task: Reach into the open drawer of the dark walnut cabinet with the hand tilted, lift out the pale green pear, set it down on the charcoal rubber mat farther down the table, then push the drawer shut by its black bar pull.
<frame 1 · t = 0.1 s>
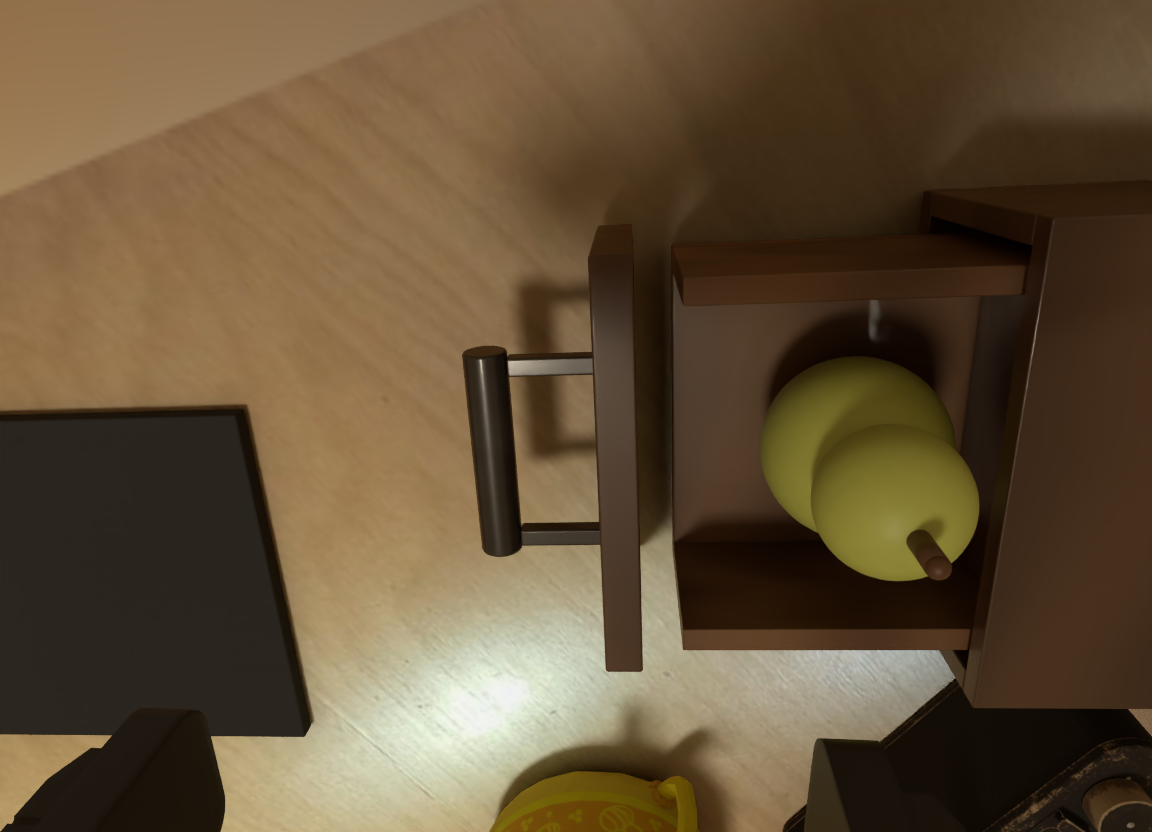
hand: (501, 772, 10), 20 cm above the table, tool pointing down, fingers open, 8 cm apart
mug: (611, 821, 38), on the table
cabinet: (1105, 386, 28), on the table
pear: (828, 412, 27), point 2 cm above the table, touching drawer
mat: (65, 581, 34), on the table
drawer: (741, 438, 25), point 4 cm above the table, slide at 10.0 cm, touching pear
camera: (936, 761, 35), on the table
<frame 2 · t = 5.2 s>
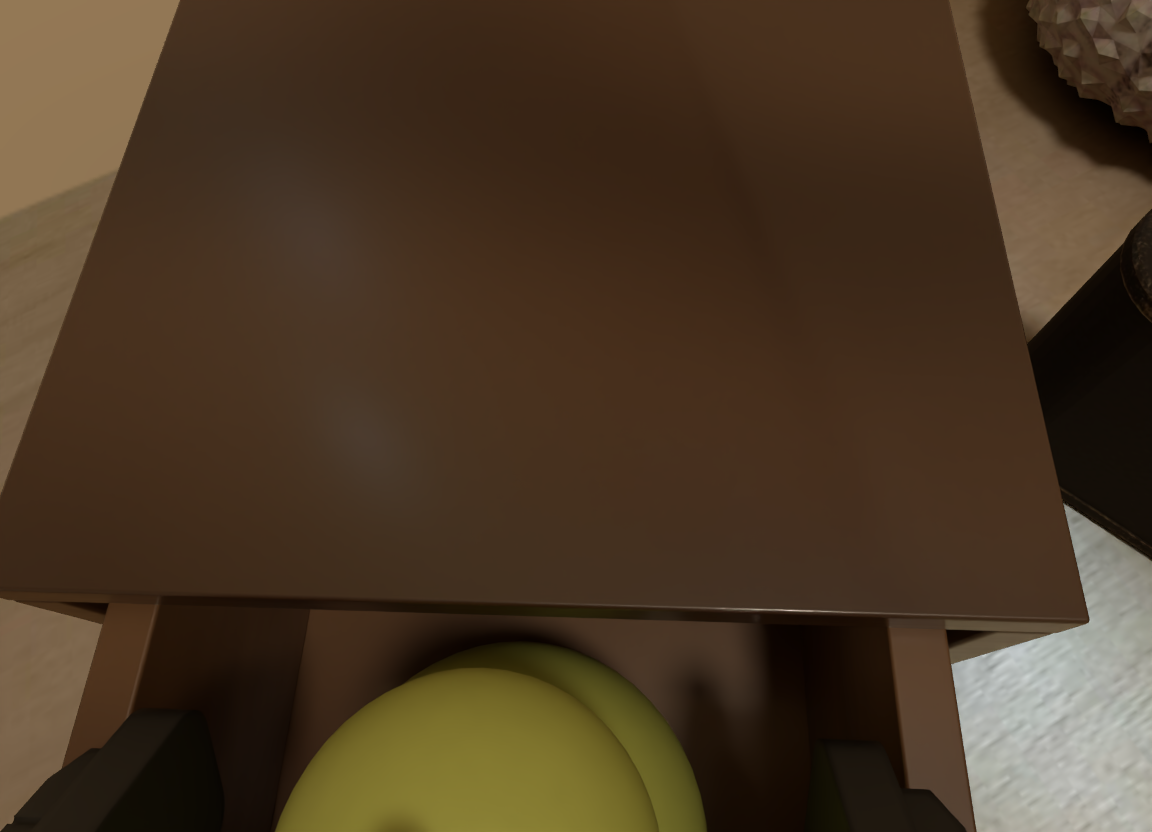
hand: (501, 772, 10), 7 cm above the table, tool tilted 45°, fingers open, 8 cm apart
cabinet: (569, 389, 21), on the table
pear: (538, 823, 15), point 2 cm above the table, touching drawer
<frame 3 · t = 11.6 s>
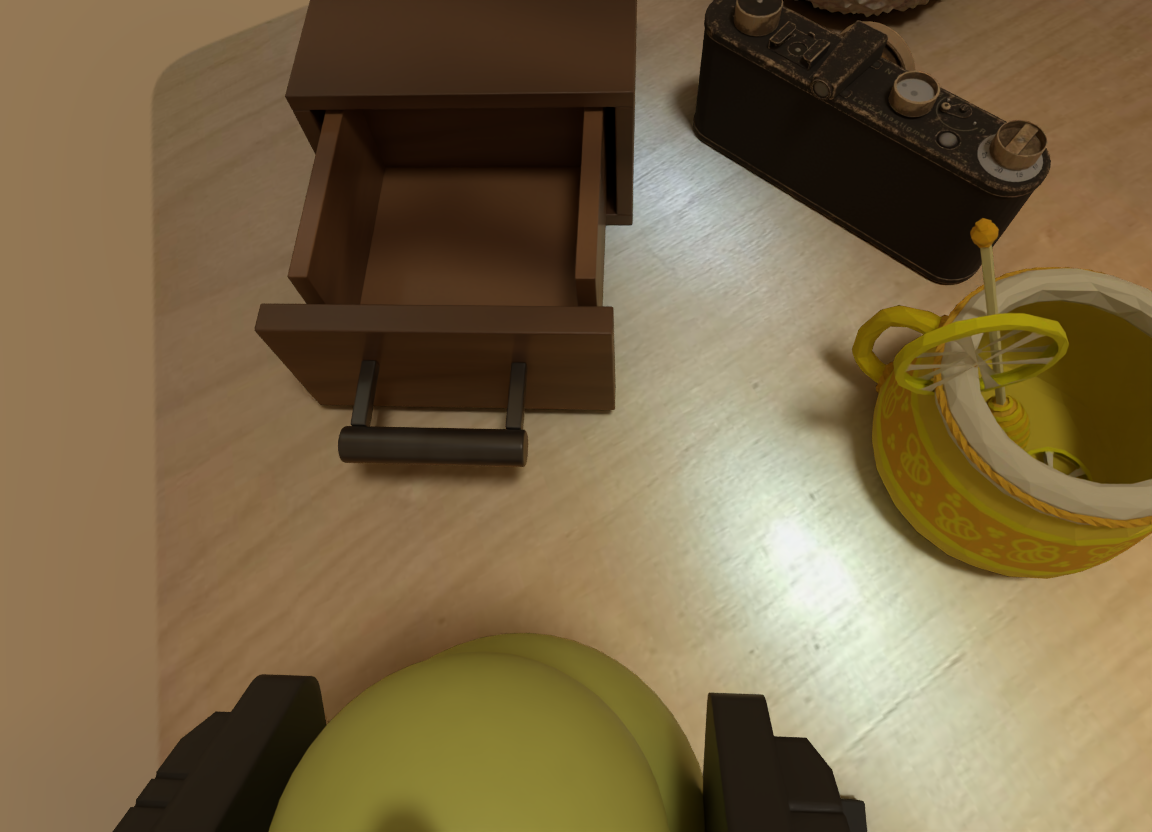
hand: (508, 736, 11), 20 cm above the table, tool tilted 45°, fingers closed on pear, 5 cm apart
mug: (966, 448, 33), on the table
cabinet: (502, 116, 42), on the table
pear: (540, 822, 14), point 16 cm above the table, touching gripper
drawer: (461, 277, 33), point 4 cm above the table, slide at 9.5 cm
camera: (841, 175, 40), on the table
when the fingers open (6 cm above the table, at t = 17.3 s): pear stays where it is, resting on mat.
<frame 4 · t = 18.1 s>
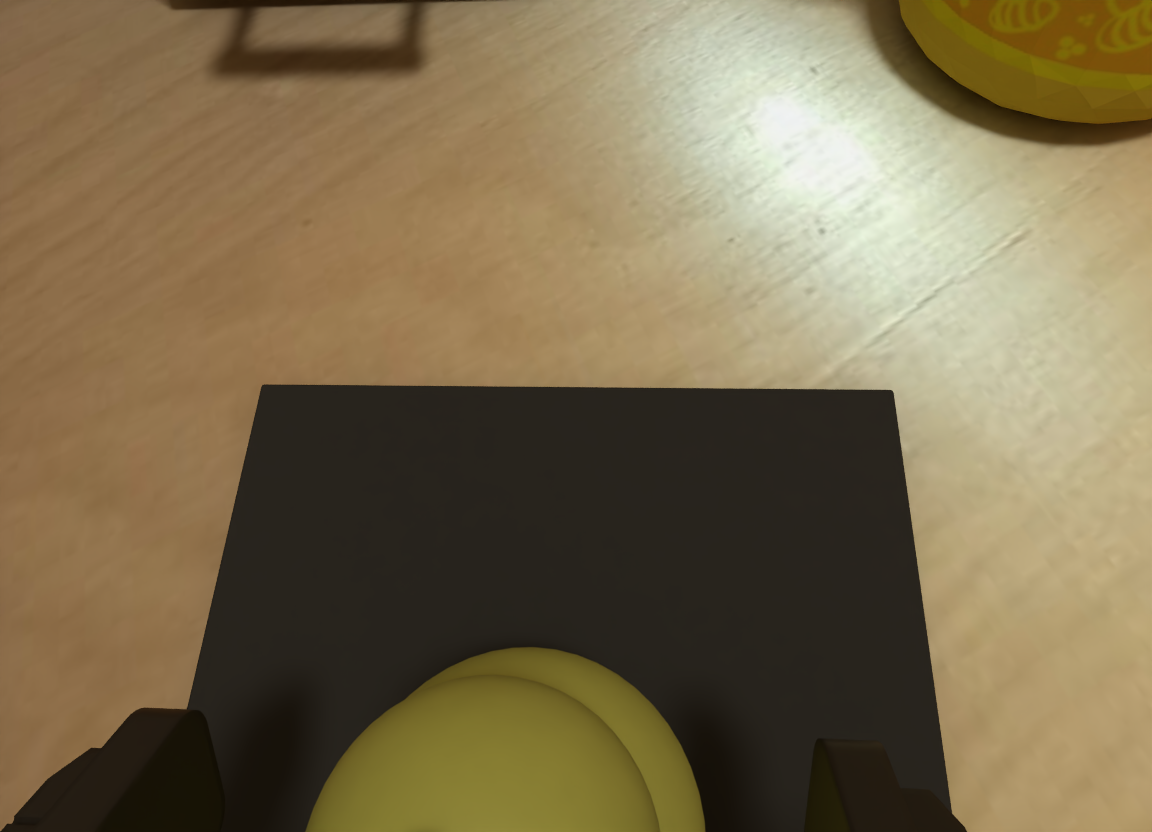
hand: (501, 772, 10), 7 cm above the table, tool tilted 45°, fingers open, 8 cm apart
mug: (1021, 14, 25), on the table
pear: (545, 819, 15), point 1 cm above the table, touching mat
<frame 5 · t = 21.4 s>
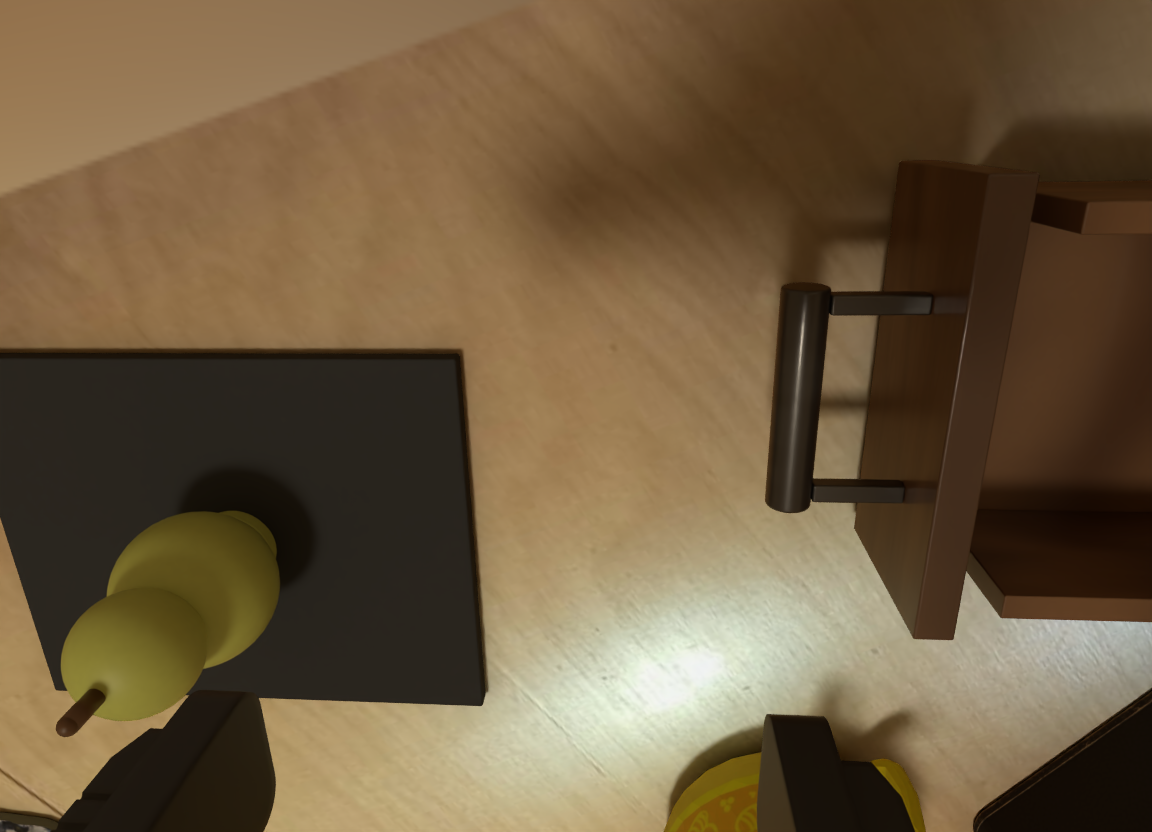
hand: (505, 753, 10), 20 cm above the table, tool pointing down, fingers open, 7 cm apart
mug: (790, 805, 36), on the table
pear: (239, 544, 32), point 1 cm above the table, touching mat
mat: (241, 534, 33), on the table
drawer: (1061, 393, 24), point 4 cm above the table, slide at 9.5 cm
camera: (1149, 752, 33), on the table
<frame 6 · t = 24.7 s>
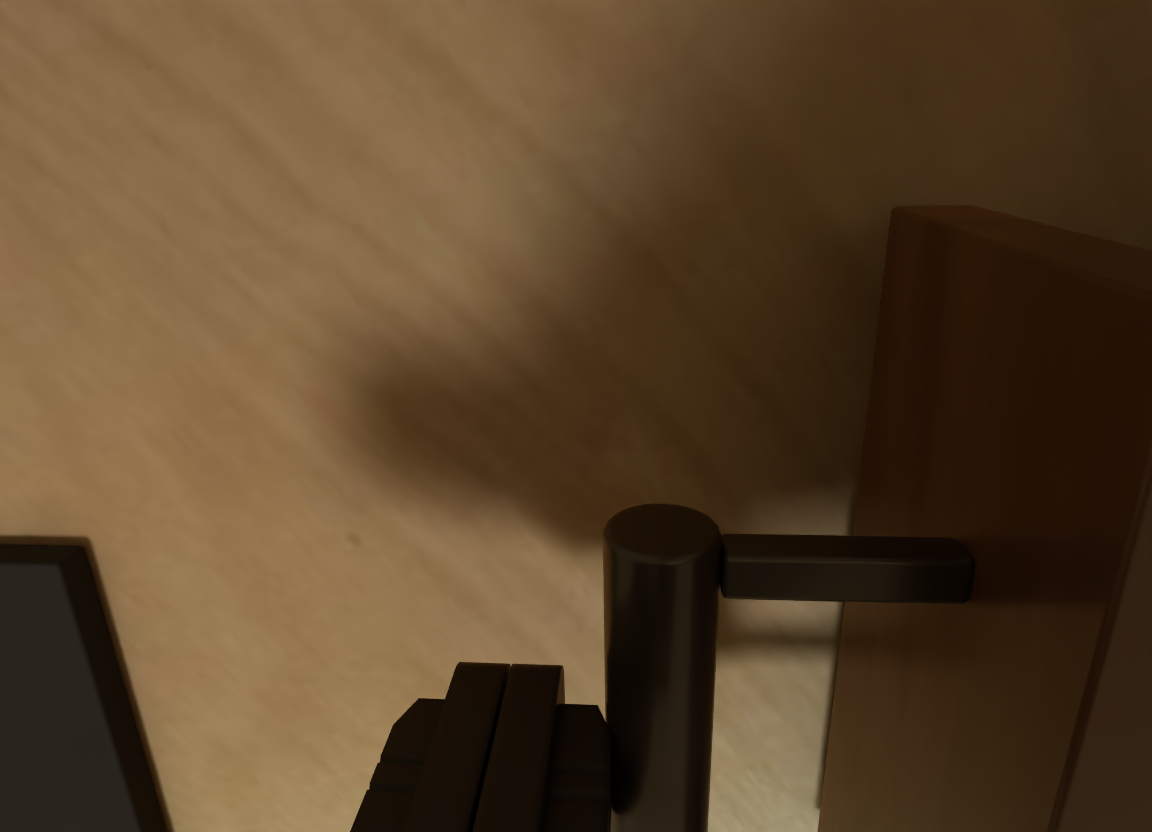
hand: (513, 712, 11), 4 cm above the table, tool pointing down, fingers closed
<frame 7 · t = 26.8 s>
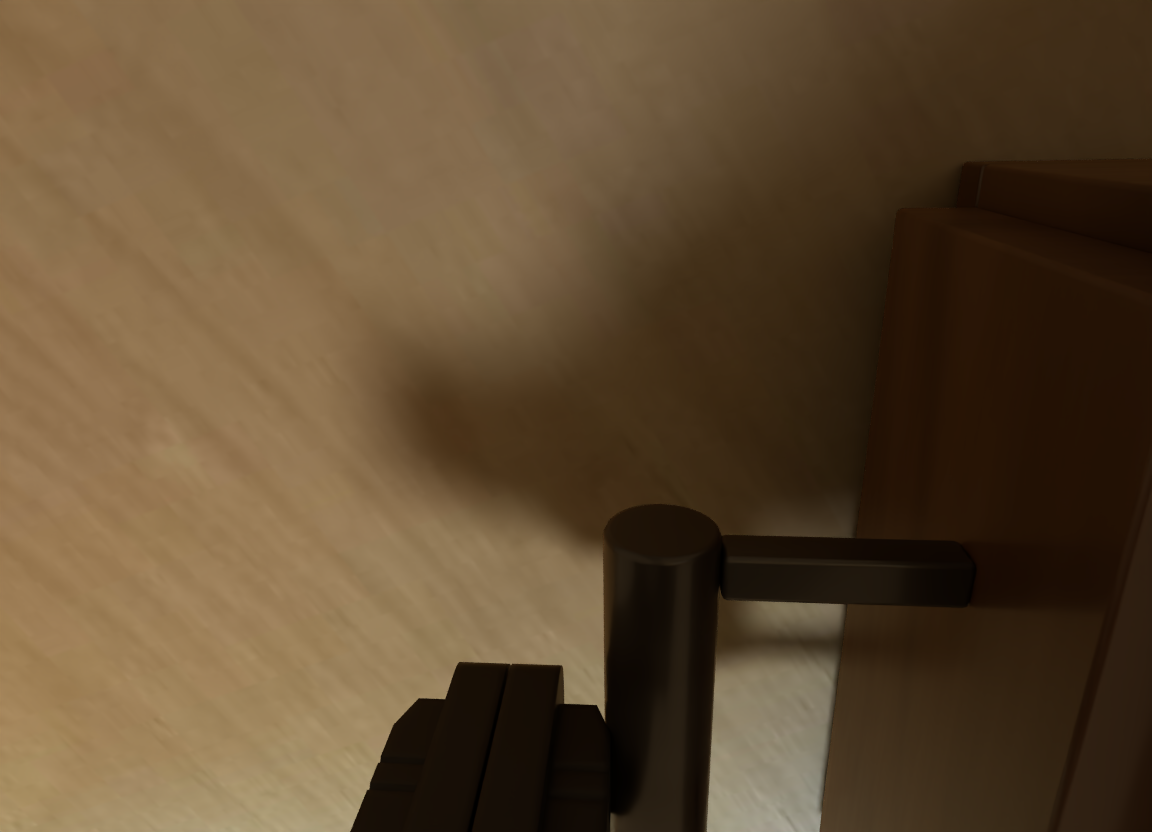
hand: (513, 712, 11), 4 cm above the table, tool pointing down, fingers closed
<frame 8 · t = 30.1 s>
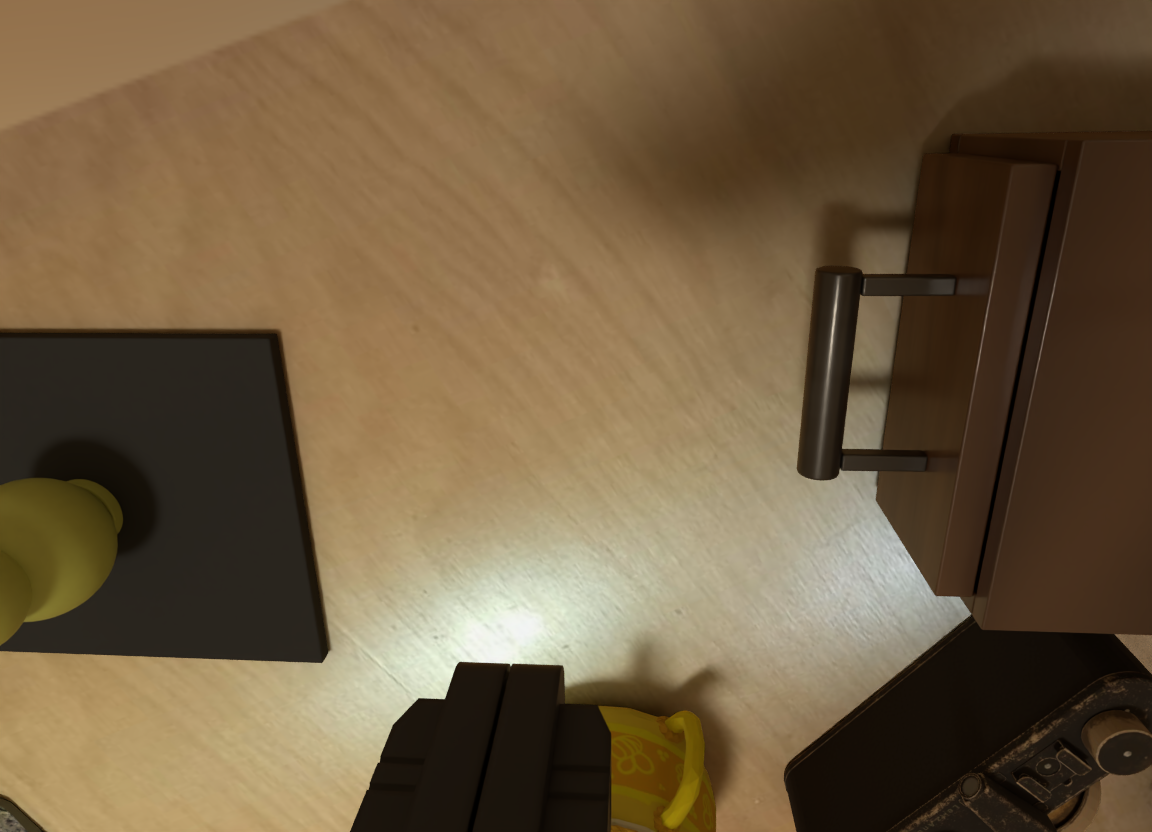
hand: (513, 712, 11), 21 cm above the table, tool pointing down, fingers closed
mug: (617, 758, 39), on the table
cabinet: (1120, 335, 29), on the table
pear: (88, 510, 34), point 1 cm above the table, touching mat
mat: (94, 502, 35), on the table
drawer: (1073, 369, 25), point 4 cm above the table, slide at 0.0 cm
camera: (937, 706, 36), on the table
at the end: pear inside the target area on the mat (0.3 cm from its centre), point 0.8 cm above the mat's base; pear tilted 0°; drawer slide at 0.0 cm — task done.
